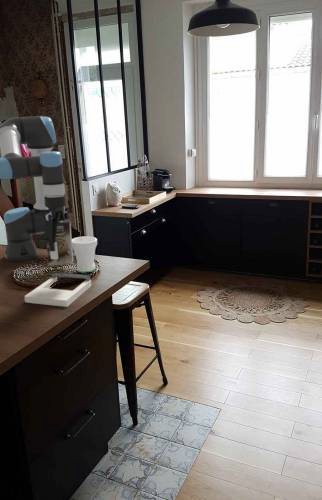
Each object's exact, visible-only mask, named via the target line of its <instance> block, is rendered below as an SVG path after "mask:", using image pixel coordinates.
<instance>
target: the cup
mask: <svg viewBox="0 0 322 500" xmlns="http://www.w3.org/2000/svg"><path fill="white" fill-rule="evenodd" d="M97 245H98V238H96V237H94V236H88V235H86V236H78V237H74V238H72V248H73V253H74V255H75V257H76V270H77V272H78V273H81V274H82V273H85V274H86V273H89V272H92V271H93V272H94V271H95V269H96V264H95V259H94V258H95V251H96V248H97ZM93 272H92V273H93Z"/></svg>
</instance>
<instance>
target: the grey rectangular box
mask: <svg viewBox="0 0 322 500" xmlns="http://www.w3.org/2000/svg"><path fill="white" fill-rule="evenodd" d="M52 224H53V223H52ZM56 226H57V230H56V239H55V242H57V250H58V260H57V259H51V256H50V247H49V242H45V244H46V252H47V262H48V263H47V265H48V266H58V265H59V266H60V265H73V264H74V250H73V248H72V239H73V238H72V231H71V230H72V224H71V218H69V219H65V220H59V223H58V224H56Z"/></svg>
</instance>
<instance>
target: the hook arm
mask: <svg viewBox="0 0 322 500" xmlns="http://www.w3.org/2000/svg"><path fill="white" fill-rule="evenodd" d="M56 277H62V278H63V277H64V278H73V279H74V278H77V279H85V281H90V280H91V275H88V274H78V273H77V274H76V273H67V272H66V273H62V272H51V278H56Z"/></svg>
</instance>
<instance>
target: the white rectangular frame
mask: <svg viewBox="0 0 322 500" xmlns="http://www.w3.org/2000/svg"><path fill="white" fill-rule="evenodd" d="M56 281H58V276H56V278H52V277H50V278H49V279H47V280H45V281H44V282H43V283H41V284H40V285H39V286H37V287H35V288H34V289H33V290H31V291H30V292H29V293H27V294H26V295H25V294H24V303H30V304H37V305H38V304H39V305H48V306H55V307H57V306H58V307H65V308H68V307H69V306H70V305H71V304H72V303H73V302H75V301H76V300H77V299H78V298H80V297H81V296H82V295H83V294H84V293H85V292H86V291H87V290H89V289H90V288H91V287H92V280H91V279H90V281H86V280H84V281H83V282H81V284H79V285H78V286H76V288H74V289H73V290H69V289H58V288H52V287H50V286H51V285H52V284H53V283H54V282H56Z"/></svg>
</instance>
